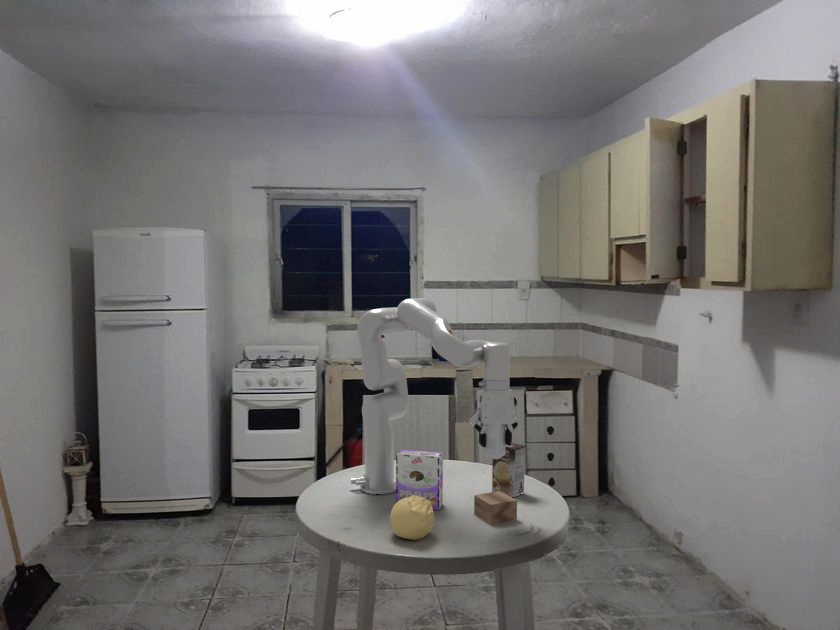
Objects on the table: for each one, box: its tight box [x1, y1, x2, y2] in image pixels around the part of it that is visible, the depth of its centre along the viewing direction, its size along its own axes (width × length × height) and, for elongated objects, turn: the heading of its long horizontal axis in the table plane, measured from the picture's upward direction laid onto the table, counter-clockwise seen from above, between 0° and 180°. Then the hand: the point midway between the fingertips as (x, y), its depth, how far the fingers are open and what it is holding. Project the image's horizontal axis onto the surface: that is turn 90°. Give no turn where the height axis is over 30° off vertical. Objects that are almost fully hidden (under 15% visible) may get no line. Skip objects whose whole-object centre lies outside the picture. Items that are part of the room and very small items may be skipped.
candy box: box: [395, 449, 444, 511], centre depth 200 cm, size 14×6×16 cm, turn 74°
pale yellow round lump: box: [389, 495, 435, 541], centre depth 177 cm, size 11×12×11 cm
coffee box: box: [491, 441, 526, 498], centre depth 212 cm, size 9×6×16 cm
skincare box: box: [484, 418, 506, 460], centre depth 190 cm, size 6×4×12 cm
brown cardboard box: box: [473, 491, 518, 526], centre depth 191 cm, size 9×9×6 cm
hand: (495, 445), depth 190 cm, fingers closed on skincare box, 7 cm apart
